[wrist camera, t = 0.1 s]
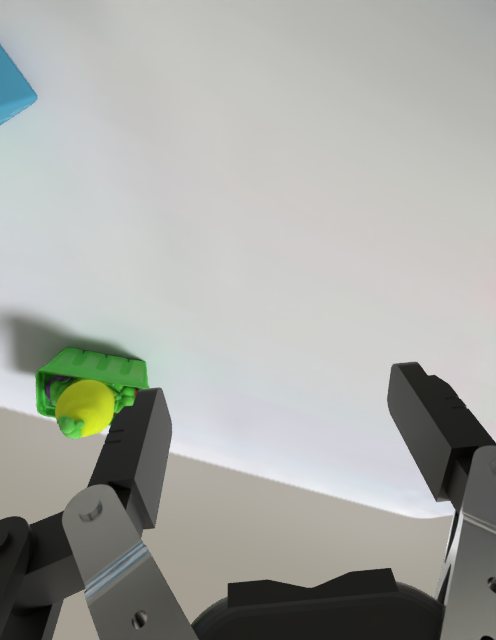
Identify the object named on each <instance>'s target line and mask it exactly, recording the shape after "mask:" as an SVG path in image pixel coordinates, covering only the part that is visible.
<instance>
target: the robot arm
mask: <svg viewBox="0 0 496 640" xmlns="http://www.w3.org/2000/svg"><path fill="white" fill-rule="evenodd" d="M387 402H388V408H389V411H390V414H391V416H392V418H393V420H394V422H395V424H396V426H397V428H398V430H399V432H400V433H401V435H402V437H403V439H404V441H405V443H406V445H407V447H408V449H409V451H410V453H411V454H412V456H413V458H414V460H415V462H416V464H417V466H418V468H419V470H420V472H421V474H422V475H423V477H424V479H425V481H426V483H427V485H428V487H429V489H430V491H431V493H432V494H433V496H434V498H435V500H436V502H442V501H451V503H452V505H453V507H454V508H455V512H454V515H453V519H452V524H451V528H450V533H449V538H448V542H447V547H446V552H445V556H444V561H443V566H442V570H441V574H440V578H439V582H438V585H437V589H436V593H435V597H434V598H433V597H431V596H430V595H428V594H426V593H425V592H423V591H421V590H419V589H417V588H415V587H412V586H410V585H407V584H404V583H401V582H396V581H395V579H394V576H393V573H392V570H391V568H385V569H375V570H364V571H353V572H349V573H347V574H344V575H342V576H340V577H337V578H335V579H332V580H330V581H328V582H326V583H323V584H321V585H318V586H316V587H313V588H306V587H301V586H296V585H291V584H286V583H282V582H277V581H272V580H260V581H259V580H258V581H249V582H239V583H228V597H226V598H224V599H221V600H219V601H218V602H216V603H214V604H213V605H211V606H210V607H209V608H207V609H206V610H205V611H204V612H203V613H201V614H200V615H199V617H197V618H196V619H195V620H194V622H193V623H192V624H191V625H190V623H189V621H188V620H187V618H186V616H185V614H184V612H183V611H182V609H181V607H180V605H179V604H178V602H177V600H176V598H175V596H174V594H173V593H172V591H171V589H170V587H169V586H168V584H167V582H166V580H165V578H164V577H163V575H162V573H161V571H160V569H159V568H158V566H157V564H156V562H155V561H154V559H153V557H152V555H151V553H150V552H149V550H148V548H147V547H146V545H144V543H143V541H142V540H141V536H142V532H143V529H152V528H155V524H156V519H157V513H158V508H159V502H160V497H161V491H162V486H163V480H164V475H165V469H166V464H167V459H168V453H169V448H170V442H171V437H172V423H171V418H170V414H169V411H168V407H167V404H166V400H165V397H164V394H163V391H162V389H161V388H150V389H141V390H138V392H137V394H136V397H135V400H134V403H133V405H132V406H124V407H123V408H122V409H121V410H120V412H119V413H118V414H117V415H116V416H115V417H114V419H113V421H112V424H111V427H110V429H109V434H108V435H107V437H106V440H105V444H104V445H103V448H102V450H101V453H100V456H99V458H98V461H97V463H96V466H95V469H94V471H93V474H92V476H91V479H90V482H89V484H88V486H87V488H85V489H84V490H82V491H80V492H79V493H78V494H76V495H75V496H74V497H73V498H72V499H71V501H70V502H69V503H68V504H67V506H66V508H65V510H64V511H62V512H60V513H58V514H55V515H53V516H50V517H48V518H45V519H43V520H40V521H38V522H36V523H33V524H30V525H29V524H28V523H27V521H26V520H25V519H23V518H21V517H17V516H13V517H7V518H4V519H2V520H0V640H52V637H53V634H54V630H55V627H56V624H57V620H58V617H59V613H60V610H61V606H62V603H63V600H64V598H66V597H69V596H71V595H73V594H75V593H77V592H79V591H81V590H84V589H86V591H85V593H84V594H85V599H86V602H87V605H88V608H89V610H90V614H91V616H92V619H93V622H94V625H95V627H96V630H97V633H98V636H99V639H100V640H496V443H495V441H494V440H493V439H492V438H491V436H490V435H489V434H488V433H487V431H486V430H485V429H484V428H483V426H482V425H481V424H480V423H479V421H478V420H477V419H476V418H475V416H474V415H473V414H472V413H471V411H470V410H469V409H467V408H466V405H465V404H464V402H463V401H462V400H461V399H459V396H458V395H457V394H456V392H455V391H454V390H453V389H452V387H451V386H450V385H449V384H448V383H446V382H445V381H443V380H442V379H440V378H439V377H437V376H436V375H430V376H428V375H427V374H426V373H425V371H424V370H423V368H422V367H421V366H420V364H419V363H417V362H408V363H398V364H393V365H392V367H391V374H390V381H389V389H388V396H387Z"/></svg>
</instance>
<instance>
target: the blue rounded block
mask: <svg viewBox="0 0 496 640" xmlns="http://www.w3.org/2000/svg"><path fill="white" fill-rule="evenodd" d="M36 100H37V95H36V93H35V92H34V90H33V89H32V88H31V86H30V85H29V83H28V82H27V81H26V79H25V78H24V77H23V75H22V74H21V72H20V71H19V70H18V68H17V67H16V66H15V64H14V63H13V61H12V60H11V59H10V57H9V56H8V55H7V53H6V52H5V50H4V49H3V48H2V46H1V45H0V125H1V124H3V123H4V122H6V121H7V120H9V119H10V118H12V117H14V116H15V115H17V114H18V113H20V112H21V111H23V110H24V109H26V108H27V107H29V106H30V105H32V104H33V103H34V102H35V101H36Z"/></svg>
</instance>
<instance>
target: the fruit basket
mask: <svg viewBox="0 0 496 640" xmlns="http://www.w3.org/2000/svg"><path fill="white" fill-rule="evenodd" d="M141 389H150V388H149V386H148V378H147V368H146V362H144V361H139V360H134V359H133V360H128V359H126V358H123V357H118V356H113V355H108V356H106V355H104V354H102V353H97V352H92V351H85V352H84V351H83V350H80V349H76V348H71V347H66V348H65V349H64V350H63V351H61V352H60V353H59V354H58V355H57V356H56V357H55V358H54V359H53V360H52V361H50V362H49V363H48V364H47V365H46V366H43V367H42V368H41V369H39V370H38V371H37V372H36V399H37V411H38V412H39V413H40V414H41V415H44V416H47V417H55V418H56V419H57V423H58V424H59V427H60V430H61V431H62V432H63V434H64V435H65V436H66V437H69V438H72V439H77V438H80V437H85V436H90V435H93V434H97V433H99V432H101V431H102V430H104V429H105V428H106V427H107V426H108V425H111V424H112V421H113V419H114V417H115V416H116V415H117V414H118V413H119V412H120V410H121V409H122V408H123V407H124V406H132V405H133V403H134V400H135V397H136V394H137V392H138V390H141Z"/></svg>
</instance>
